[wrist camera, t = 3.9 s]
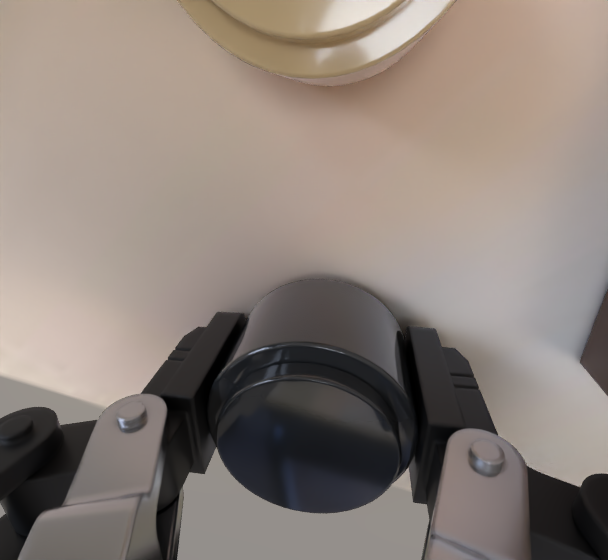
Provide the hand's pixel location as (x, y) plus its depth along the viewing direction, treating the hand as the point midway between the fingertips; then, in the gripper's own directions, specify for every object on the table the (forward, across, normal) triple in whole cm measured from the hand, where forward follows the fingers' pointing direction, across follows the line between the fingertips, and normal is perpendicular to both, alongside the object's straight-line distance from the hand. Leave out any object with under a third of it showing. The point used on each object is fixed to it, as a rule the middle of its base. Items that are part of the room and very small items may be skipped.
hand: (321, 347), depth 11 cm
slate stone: (0, 0, 0) cm, 0 cm away
